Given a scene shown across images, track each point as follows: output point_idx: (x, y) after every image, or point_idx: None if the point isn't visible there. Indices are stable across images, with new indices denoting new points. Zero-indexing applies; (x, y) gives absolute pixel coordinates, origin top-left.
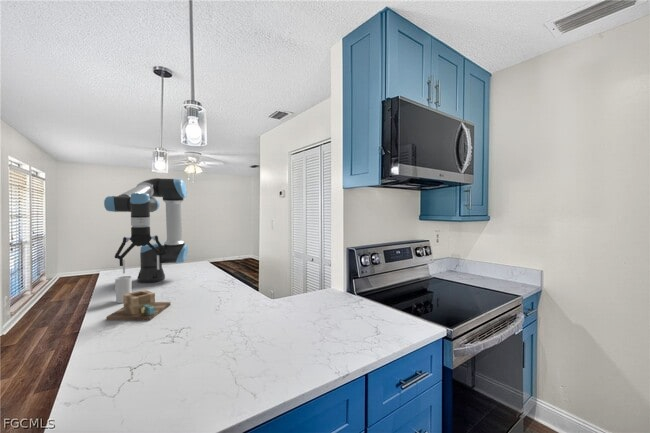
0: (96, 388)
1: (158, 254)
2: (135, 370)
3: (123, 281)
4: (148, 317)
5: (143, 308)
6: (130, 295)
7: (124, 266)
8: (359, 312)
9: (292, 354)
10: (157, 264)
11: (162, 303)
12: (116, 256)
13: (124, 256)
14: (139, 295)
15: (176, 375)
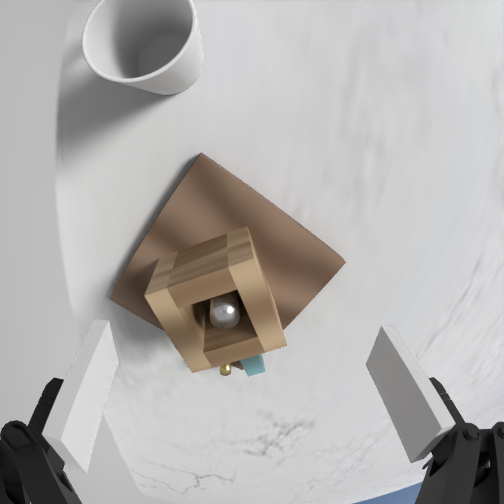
0: (163, 483)
1: (427, 473)
2: (201, 479)
3: (133, 83)
4: (238, 366)
5: (226, 373)
6: (178, 325)
7: (100, 410)
8: (491, 422)
9: (361, 486)
10: (383, 396)
11: (314, 261)
12: (14, 482)
13: (78, 498)
14: (220, 306)
15: (243, 493)
